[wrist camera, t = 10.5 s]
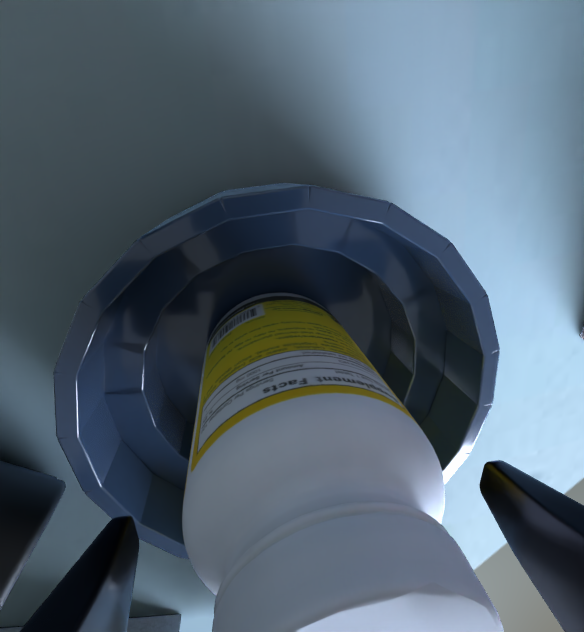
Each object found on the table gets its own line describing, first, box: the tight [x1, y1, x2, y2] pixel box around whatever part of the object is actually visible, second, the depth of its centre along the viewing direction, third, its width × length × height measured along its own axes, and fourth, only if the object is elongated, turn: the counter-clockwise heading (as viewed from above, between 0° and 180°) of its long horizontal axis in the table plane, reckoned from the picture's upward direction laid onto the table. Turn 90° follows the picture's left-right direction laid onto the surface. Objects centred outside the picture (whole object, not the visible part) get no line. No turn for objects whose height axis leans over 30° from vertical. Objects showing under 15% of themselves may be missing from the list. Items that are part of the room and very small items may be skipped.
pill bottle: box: [182, 293, 504, 632], centre depth 10 cm, size 6×6×11 cm
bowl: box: [53, 183, 500, 559], centre depth 14 cm, size 14×14×5 cm
